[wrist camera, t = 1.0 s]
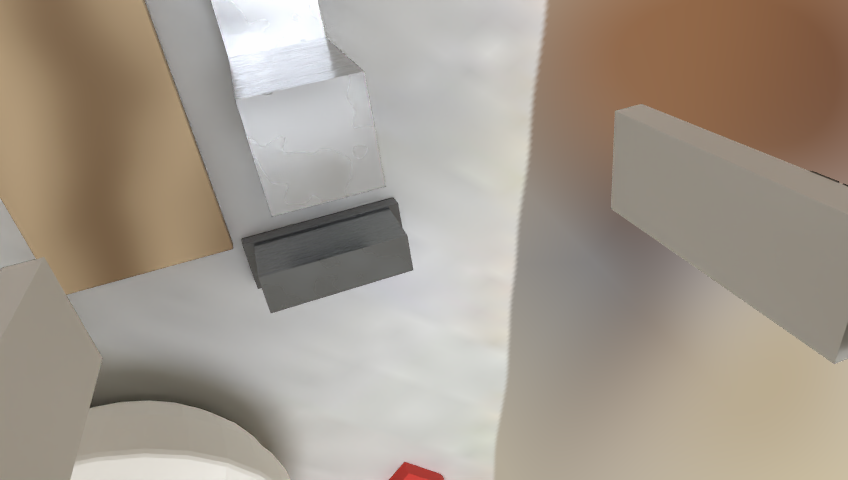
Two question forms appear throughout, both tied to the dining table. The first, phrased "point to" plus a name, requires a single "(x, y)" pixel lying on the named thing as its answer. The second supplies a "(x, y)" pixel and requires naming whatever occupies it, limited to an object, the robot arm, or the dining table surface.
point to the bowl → (169, 445)
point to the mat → (99, 144)
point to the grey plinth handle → (329, 254)
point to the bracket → (415, 473)
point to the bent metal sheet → (299, 104)
